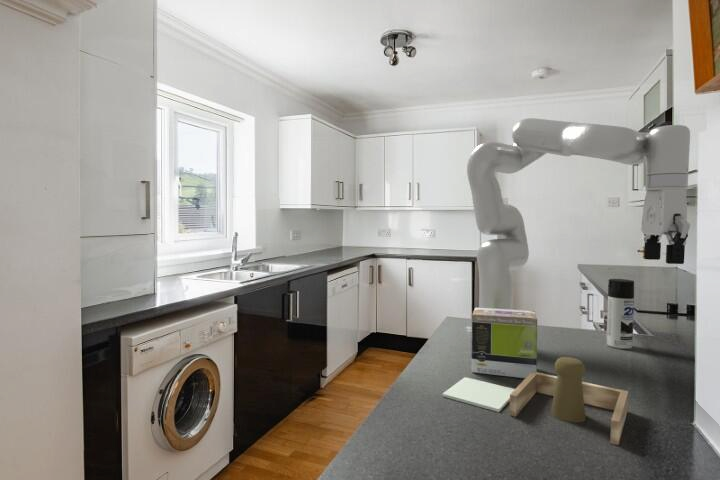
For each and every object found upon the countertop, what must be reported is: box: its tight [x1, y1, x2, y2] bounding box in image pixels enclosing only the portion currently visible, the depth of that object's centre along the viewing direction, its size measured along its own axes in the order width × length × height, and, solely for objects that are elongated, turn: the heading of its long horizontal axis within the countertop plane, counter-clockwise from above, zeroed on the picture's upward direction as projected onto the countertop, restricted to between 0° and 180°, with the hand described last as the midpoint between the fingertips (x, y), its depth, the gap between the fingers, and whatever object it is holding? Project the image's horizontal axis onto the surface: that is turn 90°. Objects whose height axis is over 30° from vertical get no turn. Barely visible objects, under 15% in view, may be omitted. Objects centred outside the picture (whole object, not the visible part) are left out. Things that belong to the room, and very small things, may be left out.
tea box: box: [470, 306, 538, 379], centre depth 106 cm, size 15×10×15 cm
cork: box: [550, 356, 587, 424], centre depth 82 cm, size 6×6×11 cm
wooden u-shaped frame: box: [509, 371, 629, 446], centre depth 83 cm, size 18×16×4 cm
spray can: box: [606, 278, 635, 350], centre depth 127 cm, size 7×7×20 cm
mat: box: [441, 376, 516, 413], centre depth 92 cm, size 12×12×1 cm
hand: (662, 261), depth 95 cm, fingers open, 9 cm apart
